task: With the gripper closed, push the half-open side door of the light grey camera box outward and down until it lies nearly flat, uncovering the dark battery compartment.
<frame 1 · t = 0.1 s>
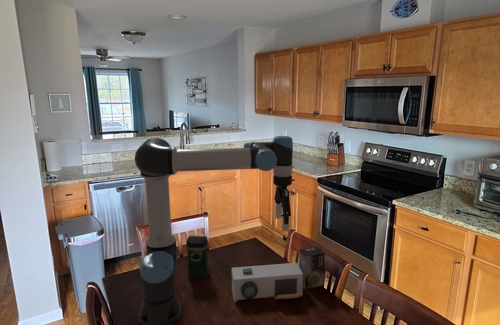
hand: (281, 224, 138), 28 cm above the table, tool pointing down, fingers open, 13 cm apart
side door: (288, 297, 130), point 3 cm above the table, hinge at 50.0°
camera box: (266, 293, 138), on the table
coffee box: (310, 285, 144), on the table
coffee jar: (198, 274, 152), on the table
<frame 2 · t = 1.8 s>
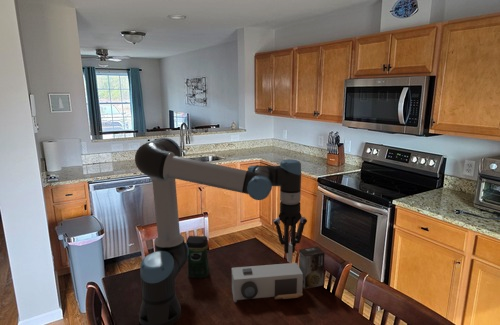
hand: (289, 260, 128), 19 cm above the table, tool pointing down, fingers closed
nothing on the table moved.
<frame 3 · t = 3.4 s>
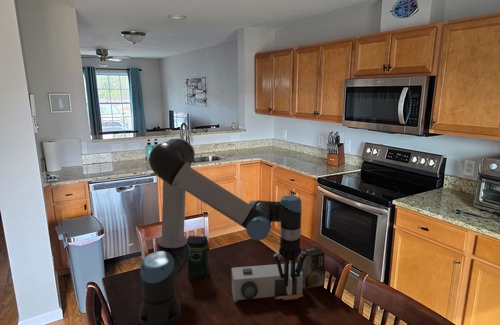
hand: (289, 292, 129), 5 cm above the table, tool pointing down, fingers closed
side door: (288, 297, 130), point 3 cm above the table, hinge at 53.1°, touching gripper
everything else where it was.
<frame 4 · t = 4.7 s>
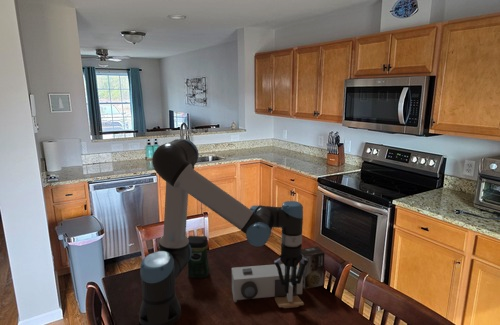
hand: (289, 299, 128), 4 cm above the table, tool pointing down, fingers closed
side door: (288, 302, 130), point 1 cm above the table, hinge at 75.8°
everything else where it was.
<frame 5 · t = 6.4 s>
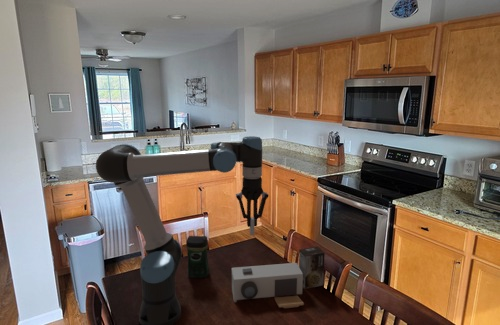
hand: (251, 233, 133), 26 cm above the table, tool pointing down, fingers closed
nothing on the table moved.
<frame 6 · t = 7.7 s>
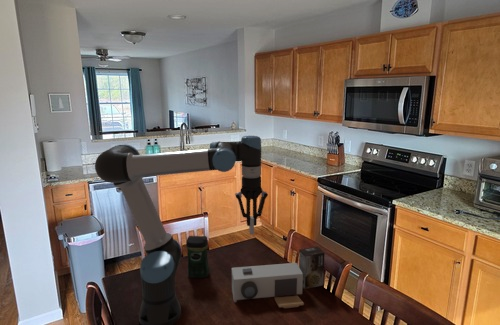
hand: (251, 232, 134), 26 cm above the table, tool pointing down, fingers closed
nothing on the table moved.
at the end: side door at +76° (first picture: +50°) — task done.
